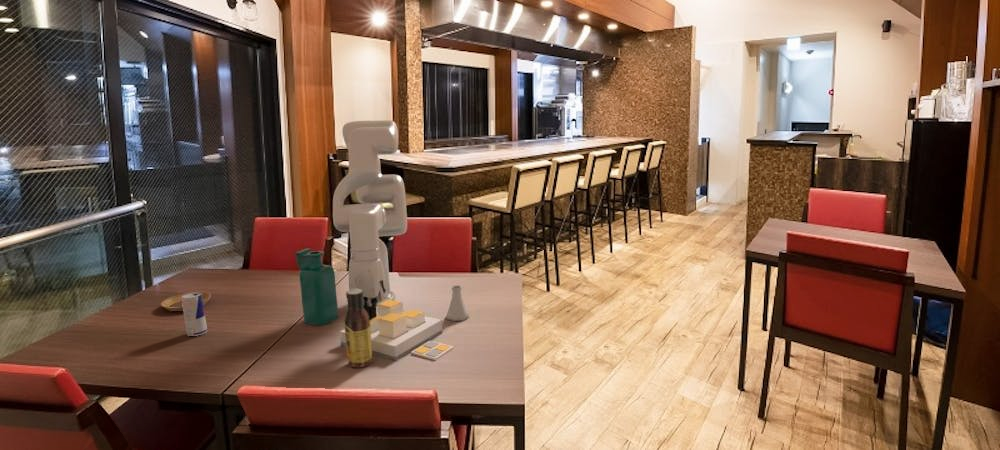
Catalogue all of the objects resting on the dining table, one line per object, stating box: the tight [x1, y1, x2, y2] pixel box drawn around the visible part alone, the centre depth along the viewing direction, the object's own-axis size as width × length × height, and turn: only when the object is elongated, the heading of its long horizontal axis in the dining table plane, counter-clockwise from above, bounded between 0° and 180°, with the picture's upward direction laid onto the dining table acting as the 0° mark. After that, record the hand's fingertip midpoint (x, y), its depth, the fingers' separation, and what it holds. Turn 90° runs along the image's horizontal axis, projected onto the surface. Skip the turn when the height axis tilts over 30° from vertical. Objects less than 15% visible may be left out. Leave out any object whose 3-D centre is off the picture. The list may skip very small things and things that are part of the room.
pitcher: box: [294, 248, 339, 326], centre depth 169 cm, size 10×8×22 cm
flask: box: [446, 284, 470, 322], centre depth 170 cm, size 7×7×10 cm
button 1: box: [369, 315, 383, 334], centre depth 154 cm, size 5×5×5 cm
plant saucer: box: [160, 291, 212, 312], centre depth 186 cm, size 15×15×3 cm
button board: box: [339, 310, 443, 361], centre depth 156 cm, size 20×20×4 cm
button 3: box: [378, 313, 407, 340], centre depth 150 cm, size 5×5×5 cm
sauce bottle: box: [343, 289, 373, 368], centre depth 139 cm, size 6×6×20 cm
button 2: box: [376, 299, 404, 317], centre depth 160 cm, size 5×5×5 cm
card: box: [410, 340, 454, 361], centre depth 148 cm, size 8×8×1 cm
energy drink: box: [181, 291, 208, 337], centre depth 161 cm, size 5×5×12 cm
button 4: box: [400, 308, 426, 329], centre depth 157 cm, size 5×5×5 cm
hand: (370, 317), depth 153 cm, fingers closed
